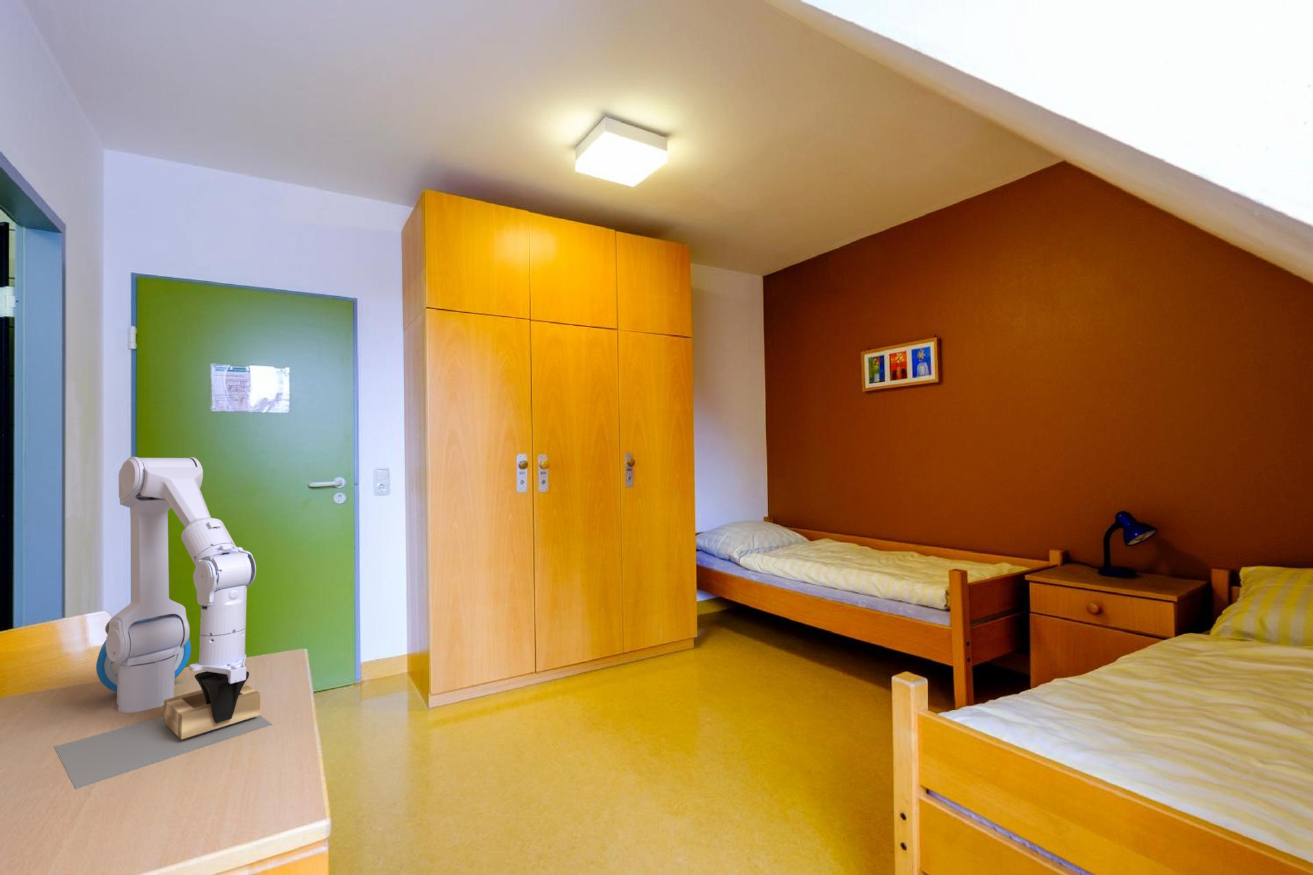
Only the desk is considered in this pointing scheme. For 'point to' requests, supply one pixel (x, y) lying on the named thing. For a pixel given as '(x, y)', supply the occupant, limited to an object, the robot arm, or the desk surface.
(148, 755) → the slate board
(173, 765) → the desk surface
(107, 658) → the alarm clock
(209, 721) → the oak frame
